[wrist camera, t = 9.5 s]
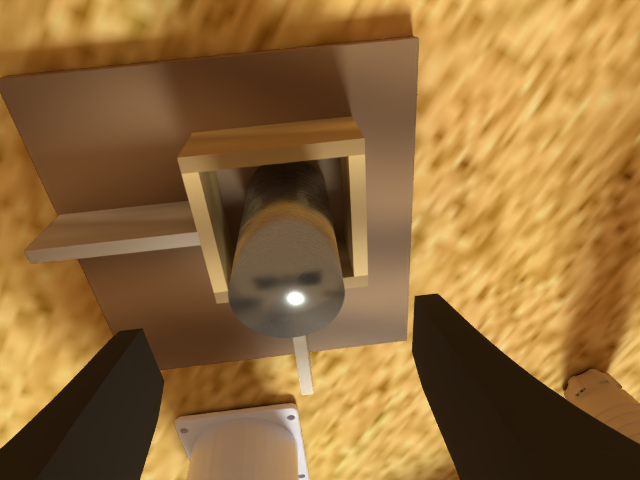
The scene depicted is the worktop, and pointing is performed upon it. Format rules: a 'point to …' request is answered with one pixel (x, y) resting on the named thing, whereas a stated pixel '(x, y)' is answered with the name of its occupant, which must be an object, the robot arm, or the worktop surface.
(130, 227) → the hinge block
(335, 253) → the hinge pin
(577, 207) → the worktop surface
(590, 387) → the handle
